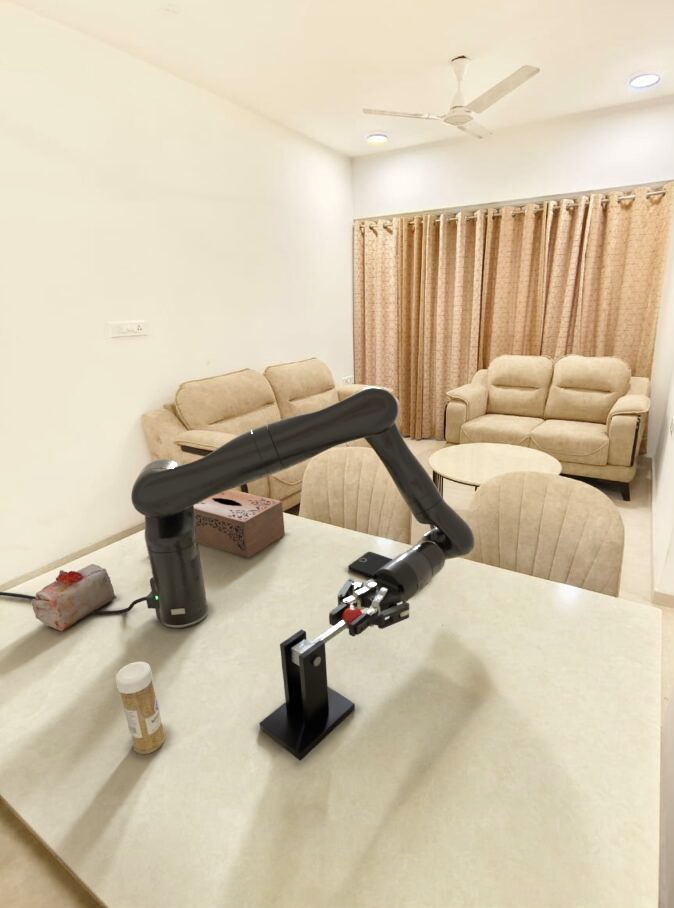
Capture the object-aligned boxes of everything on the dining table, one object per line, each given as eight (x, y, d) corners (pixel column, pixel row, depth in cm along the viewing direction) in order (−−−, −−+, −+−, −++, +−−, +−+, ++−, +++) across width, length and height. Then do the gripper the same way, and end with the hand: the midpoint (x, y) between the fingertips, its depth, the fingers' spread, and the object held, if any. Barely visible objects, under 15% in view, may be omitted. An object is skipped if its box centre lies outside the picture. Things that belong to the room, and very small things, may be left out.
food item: (60, 637, 98) (47, 594, 94) (34, 626, 101) (21, 585, 97) (120, 600, 109) (110, 561, 106) (95, 591, 112) (85, 553, 109)
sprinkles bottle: (169, 745, 74) (153, 674, 69) (136, 760, 72) (117, 688, 67) (162, 724, 78) (146, 655, 73) (130, 738, 76) (112, 668, 71)
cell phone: (368, 554, 127) (368, 550, 126) (431, 575, 117) (431, 572, 117) (347, 569, 120) (347, 566, 119) (412, 593, 110) (412, 589, 110)
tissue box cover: (177, 535, 137) (171, 502, 134) (216, 515, 149) (212, 484, 145) (248, 558, 126) (244, 522, 122) (284, 534, 137) (281, 501, 134)
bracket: (315, 684, 86) (310, 612, 80) (355, 709, 80) (352, 634, 75) (259, 729, 77) (250, 652, 72) (300, 761, 72) (292, 680, 66)
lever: (351, 618, 85) (351, 600, 84) (367, 626, 83) (367, 608, 82) (288, 662, 75) (287, 642, 73) (305, 673, 72) (304, 653, 71)
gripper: (372, 548, 95) (307, 590, 82) (436, 572, 86) (374, 624, 74) (373, 581, 98) (310, 627, 85) (435, 608, 89) (375, 663, 77)
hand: (340, 625), depth 80 cm, fingers closed on lever, 3 cm apart
